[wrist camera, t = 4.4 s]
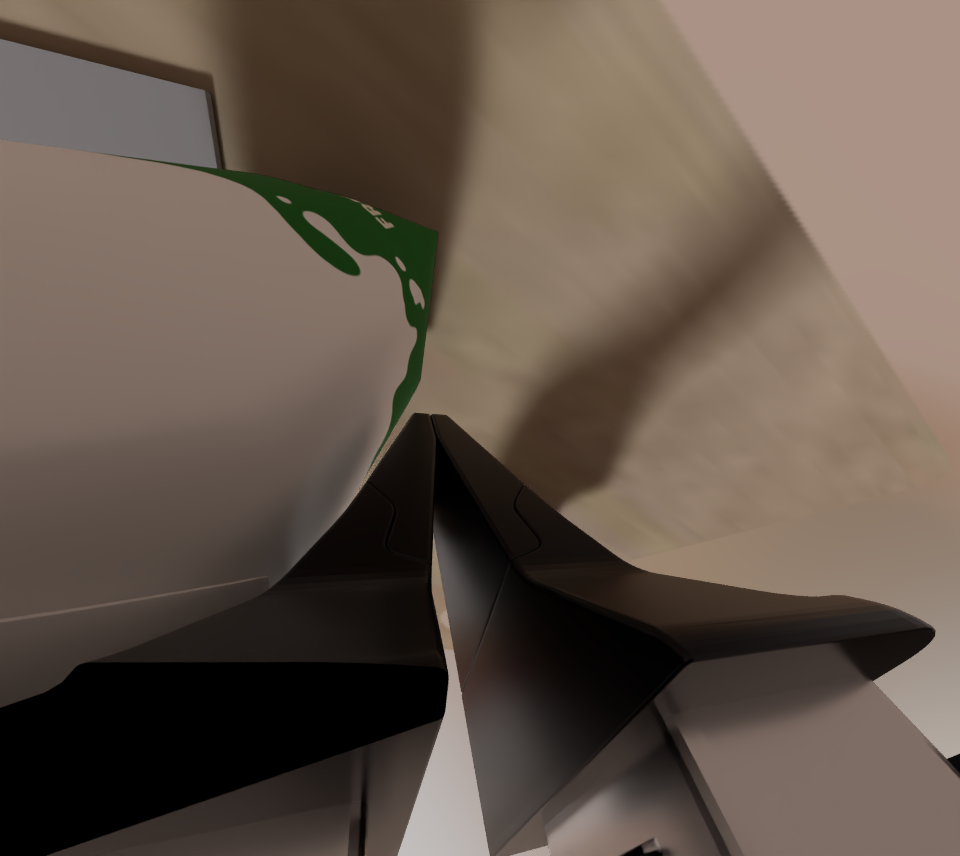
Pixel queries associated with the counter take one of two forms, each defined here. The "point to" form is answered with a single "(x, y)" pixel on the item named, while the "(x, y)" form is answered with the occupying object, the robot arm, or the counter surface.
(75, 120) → the mat
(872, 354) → the counter surface
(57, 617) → the soya milk
